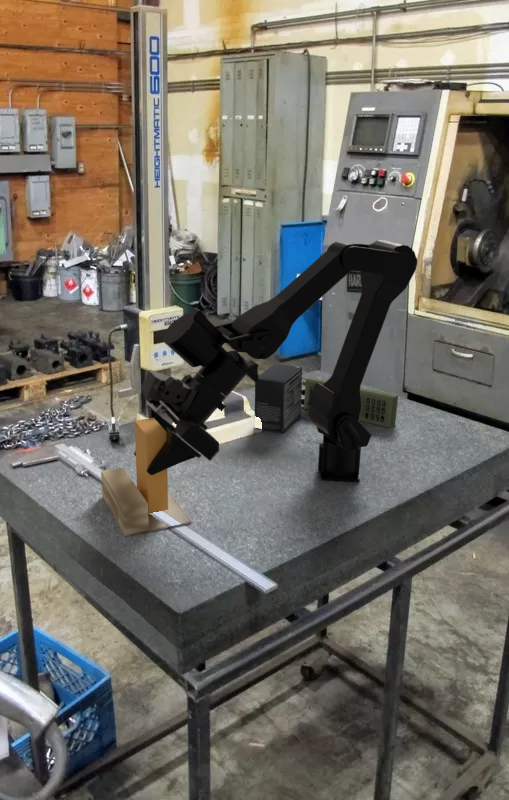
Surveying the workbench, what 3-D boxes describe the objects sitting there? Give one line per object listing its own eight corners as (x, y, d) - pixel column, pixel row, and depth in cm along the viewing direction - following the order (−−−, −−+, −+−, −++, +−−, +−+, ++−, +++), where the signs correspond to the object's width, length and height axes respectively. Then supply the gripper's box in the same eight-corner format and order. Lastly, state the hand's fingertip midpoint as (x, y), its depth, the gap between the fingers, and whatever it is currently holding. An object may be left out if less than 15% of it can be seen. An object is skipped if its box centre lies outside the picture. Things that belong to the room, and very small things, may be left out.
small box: (272, 410, 156) (273, 361, 153) (302, 415, 154) (304, 366, 150) (252, 428, 147) (253, 376, 143) (283, 434, 145) (285, 381, 141)
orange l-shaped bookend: (155, 492, 119) (153, 417, 114) (168, 509, 113) (166, 432, 109) (121, 498, 116) (117, 422, 112) (132, 516, 111) (129, 437, 107)
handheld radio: (390, 430, 148) (278, 405, 160) (396, 425, 151) (285, 401, 162) (394, 397, 146) (279, 374, 158) (400, 393, 149) (287, 371, 160)
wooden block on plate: (163, 486, 123) (163, 460, 121) (191, 523, 112) (191, 495, 110) (102, 497, 119) (101, 471, 117) (124, 536, 108) (123, 508, 106)
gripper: (154, 336, 117) (87, 412, 116) (197, 370, 101) (119, 460, 100) (203, 378, 123) (139, 452, 122) (250, 418, 107) (177, 502, 106)
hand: (142, 464), depth 113 cm, fingers closed on orange l-shaped bookend, 6 cm apart
